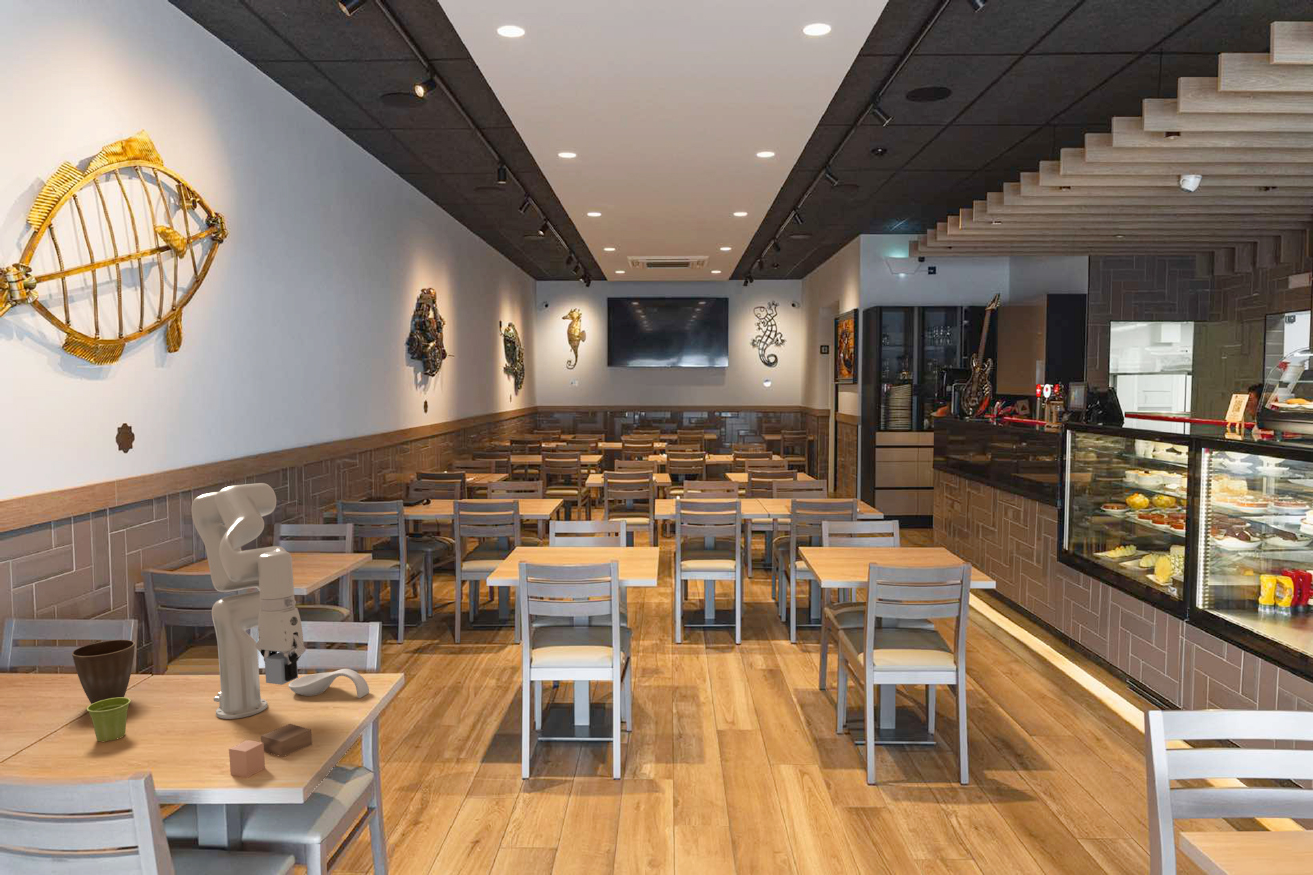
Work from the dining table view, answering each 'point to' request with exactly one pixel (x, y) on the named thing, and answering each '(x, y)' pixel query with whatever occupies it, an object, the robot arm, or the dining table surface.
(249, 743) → the terracotta block
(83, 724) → the dining table surface
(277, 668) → the slate block
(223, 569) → the robot arm
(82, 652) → the plant pot
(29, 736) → the dining table surface
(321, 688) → the spoon rest
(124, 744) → the dining table surface
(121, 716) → the plant pot
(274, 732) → the walnut base
